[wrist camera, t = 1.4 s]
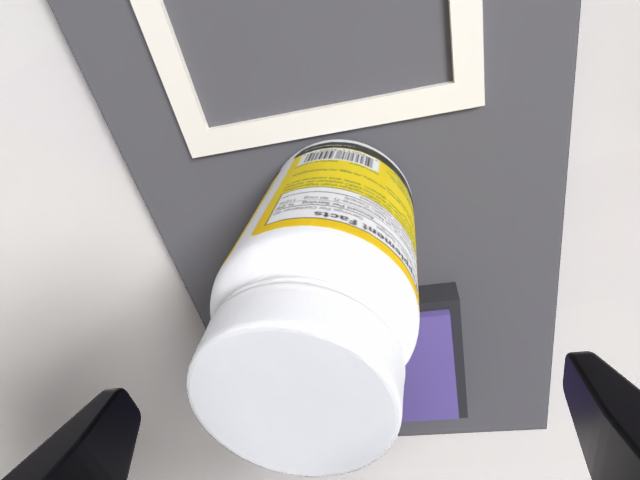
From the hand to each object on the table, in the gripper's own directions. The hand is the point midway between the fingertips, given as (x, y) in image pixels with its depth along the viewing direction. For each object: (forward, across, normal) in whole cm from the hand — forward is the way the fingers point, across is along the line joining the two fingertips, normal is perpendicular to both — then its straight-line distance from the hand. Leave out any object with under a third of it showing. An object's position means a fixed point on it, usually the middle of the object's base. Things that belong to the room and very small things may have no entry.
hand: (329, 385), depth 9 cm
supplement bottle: (+8, 0, 0) cm, 8 cm away
